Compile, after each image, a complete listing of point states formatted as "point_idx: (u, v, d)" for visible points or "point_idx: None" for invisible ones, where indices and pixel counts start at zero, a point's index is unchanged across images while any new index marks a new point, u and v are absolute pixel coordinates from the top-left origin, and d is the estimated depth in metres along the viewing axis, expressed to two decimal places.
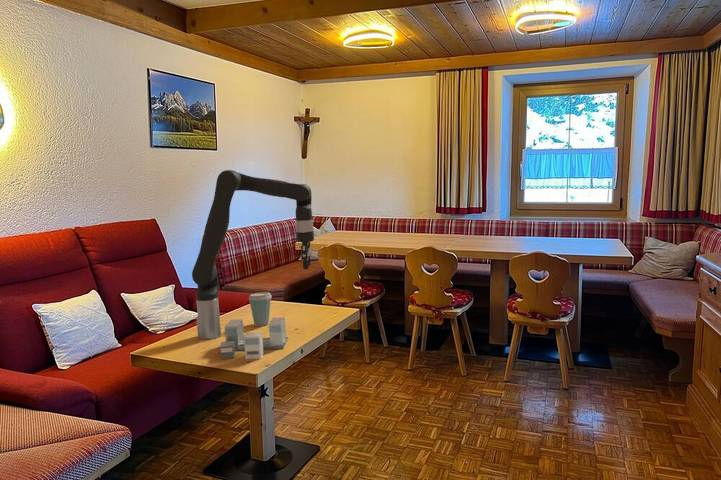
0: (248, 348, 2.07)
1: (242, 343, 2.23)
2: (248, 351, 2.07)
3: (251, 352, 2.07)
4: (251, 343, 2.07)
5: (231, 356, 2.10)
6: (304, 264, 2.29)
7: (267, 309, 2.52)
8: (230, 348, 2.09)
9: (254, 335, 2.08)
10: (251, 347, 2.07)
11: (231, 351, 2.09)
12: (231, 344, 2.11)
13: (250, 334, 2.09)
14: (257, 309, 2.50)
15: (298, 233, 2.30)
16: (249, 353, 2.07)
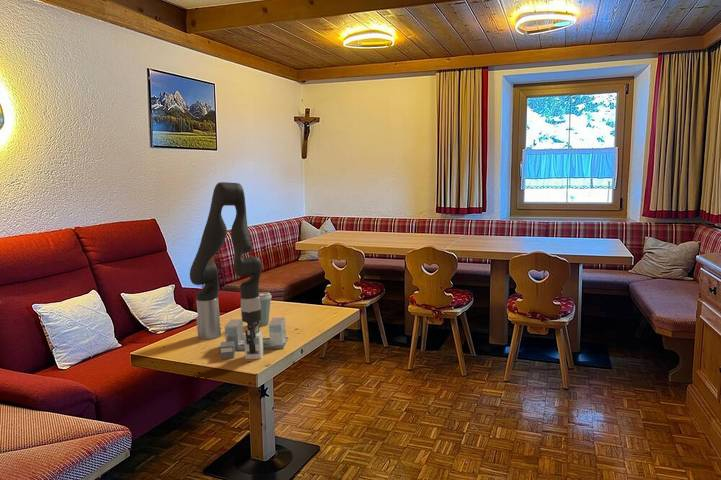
0: (248, 348, 2.07)
1: (242, 343, 2.23)
2: (248, 351, 2.07)
3: None
4: None
5: (231, 356, 2.10)
6: (250, 348, 2.06)
7: (267, 309, 2.52)
8: (230, 348, 2.09)
9: None
10: None
11: (231, 351, 2.09)
12: (231, 344, 2.11)
13: None
14: None
15: (243, 312, 2.05)
16: (249, 352, 2.07)
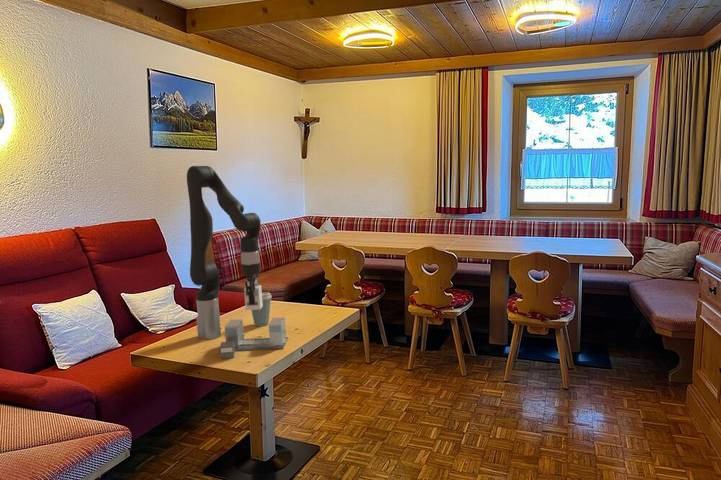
0: (248, 299, 2.19)
1: (242, 343, 2.23)
2: (248, 302, 2.19)
3: None
4: None
5: (231, 356, 2.10)
6: (250, 299, 2.18)
7: (267, 309, 2.52)
8: (230, 348, 2.09)
9: None
10: None
11: (231, 351, 2.09)
12: (231, 344, 2.11)
13: None
14: None
15: (243, 265, 2.17)
16: (249, 304, 2.19)
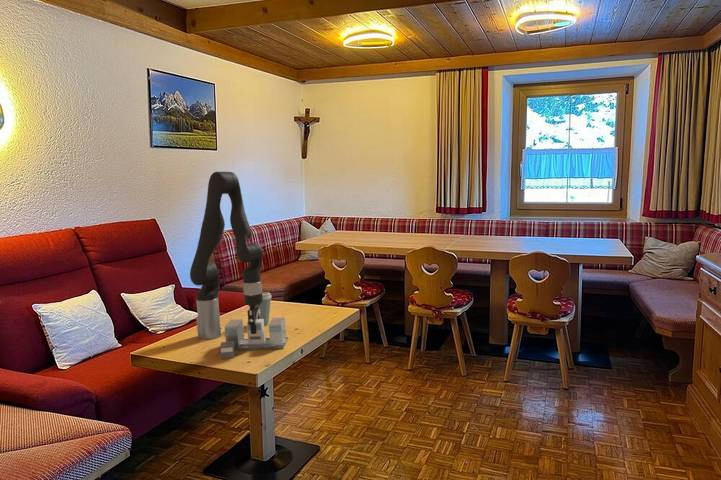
0: None
1: (242, 343, 2.23)
2: (251, 336, 2.21)
3: (253, 337, 2.21)
4: None
5: (231, 356, 2.10)
6: (251, 329, 2.18)
7: (267, 309, 2.52)
8: (230, 348, 2.09)
9: (256, 321, 2.22)
10: None
11: (231, 351, 2.10)
12: (231, 344, 2.11)
13: (252, 320, 2.23)
14: None
15: (245, 296, 2.19)
16: (252, 338, 2.21)
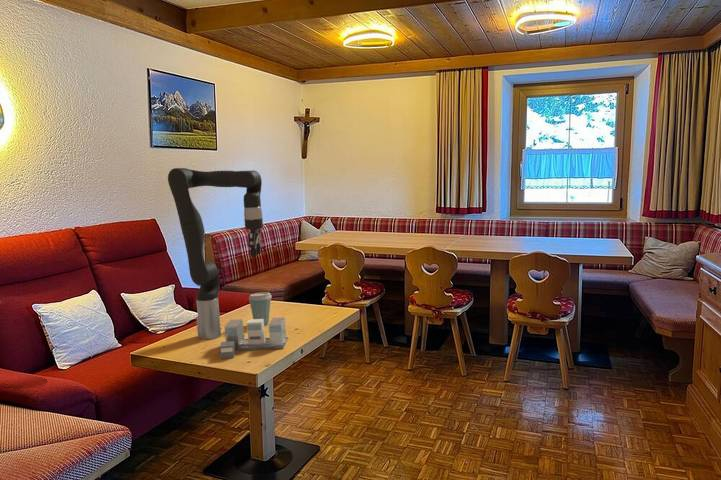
0: (251, 333, 2.21)
1: (242, 343, 2.23)
2: (251, 336, 2.21)
3: (253, 337, 2.21)
4: (253, 329, 2.21)
5: (231, 356, 2.10)
6: (252, 252, 2.25)
7: (267, 309, 2.52)
8: (230, 348, 2.09)
9: (256, 321, 2.22)
10: (254, 332, 2.21)
11: (231, 351, 2.10)
12: (231, 344, 2.11)
13: (252, 320, 2.23)
14: (257, 309, 2.50)
15: (246, 220, 2.26)
16: (252, 338, 2.21)
